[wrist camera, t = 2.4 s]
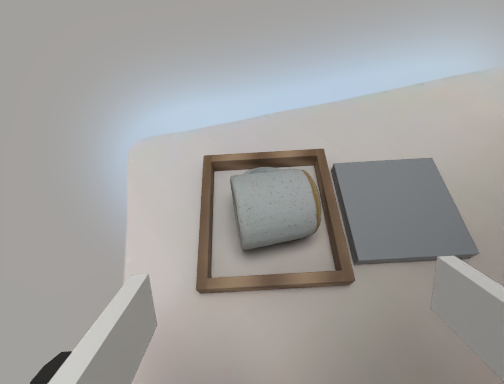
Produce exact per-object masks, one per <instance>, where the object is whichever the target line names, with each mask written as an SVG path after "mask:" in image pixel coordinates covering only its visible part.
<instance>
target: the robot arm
mask: <svg viewBox="0 0 504 384" xmlns="http://www.w3.org/2000/svg"><path fill="white" fill-rule="evenodd" d="M431 310H432V311H433V312H434V313H435V314H436V315H437V316H438V317H439V318H440V319H441V320H442V321H443V322H444V323H445V324H446V325H447V326H448V327H449V328H450V329H451V330H452V331H453V332H454V333H455V334H456V335H457V336H458V337H459V338H460V339H461V340H462V341H463V342H464V343H465V344H466V345H467V346H468V347H469V348H470V349H471V350H472V351H473V352H474V353H475V354H476V355H477V356H478V357H479V358H480V359H481V360H482V361H483V362H484V363H485V364H486V365H487V366H488V367H489V368H490V369H491V370H492V371H493V372H494V373H495V374H496V375H497V376H498V377H499V378H500V379H501V380H502V381H503V382H504V287H503V286H501V285H500V284H498V283H497V282H495V281H493V280H492V279H490V278H489V277H487V276H486V275H484V274H482V273H481V272H479V271H478V270H476V269H474V268H473V267H471V266H470V265H468V264H467V263H465V262H463V261H462V260H460V259H459V258H457V257H455V256H439V257H437V262H436V270H435V278H434V286H433V293H432V301H431ZM156 327H157V321H156V315H155V309H154V303H153V298H152V292H151V286H150V280H149V274H138V275H131V276H130V277H129V279H128V280H127V281H126V283H125V284H124V285H123V287H122V288H121V289H120V291H119V292H118V293H117V294H116V296H115V297H114V298H113V300H112V301H111V302H110V303H109V305H108V306H107V308H106V309H105V310H104V311H103V313H102V314H101V315H100V316H99V318H98V319H97V320H96V322H95V323H94V324H93V326H92V327H91V328H90V329H89V331H88V332H87V333H86V335H85V336H84V337H83V338H82V340H81V341H80V342H79V344H78V345H77V346H76V348H75V349H74V350H73V351H72V352H61V353H60V354H58V355H57V356H56V357H55V358H53V359H52V360H51V361H50V362H48V363H47V364H46V365H45V366H44V367H43V368H42V369H41V370H40V371H39V373H38V374H37V375H36V376H35V377H34V378H33V380H32V381H31V382H30V384H131V383H132V380H133V378H134V376H135V374H136V371H137V369H138V367H139V365H140V363H141V360H142V358H143V356H144V354H145V351H146V349H147V347H148V345H149V342H150V340H151V338H152V336H153V334H154V331H155V329H156Z"/></svg>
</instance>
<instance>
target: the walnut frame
mask: <svg viewBox="0 0 504 384" xmlns="http://www.w3.org/2000/svg"><path fill="white" fill-rule="evenodd" d="M308 165H314V167H315V171H316V176H317V181H318V186H319V191H320V195H321V200H322V205H323V210H324V215H325V220H326V224H327V229H328V234H329V239H330V244H331V248H332V253H333V258H334V263H335V268H336V271H324V272H306V273H289V274H271V275H254V276H236V277H219V278H211V254H212V221H213V189H214V171H222V170H240V169H255V168H260V167H273V168H274V167H291V166H308ZM354 281H355V278H354V274H353V269H352V265H351V261H350V257H349V253H348V248H347V244H346V240H345V236H344V232H343V228H342V223H341V219H340V215H339V211H338V207H337V203H336V198H335V194H334V190H333V186H332V182H331V178H330V173H329V169H328V165H327V161H326V157H325V153H324V149H310V150H292V151H275V152H258V153H241V154H224V155H207V156H204V160H203V178H202V196H201V213H200V231H199V249H198V266H197V284H196V290H197V291H198V292H199V293H216V292H234V291H252V290H269V289H287V288H304V287H322V286H340V285H350V284H351V283H353V282H354Z"/></svg>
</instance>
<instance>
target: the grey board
mask: <svg viewBox="0 0 504 384" xmlns="http://www.w3.org/2000/svg"><path fill="white" fill-rule="evenodd" d="M331 172H332V176H333V180H334V184H335V188H336V192H337V196H338V200H339V205H340V209H341V213H342V217H343V221H344V225H345V229H346V233H347V237H348V241H349V245H350V249H351V253H352V258H353V262H354V265H355V264H372V263H390V262H407V261H425V260H437V257H439V256H455V257H457V258H459V259H460V258H470V257H473V256H475V255H477V254H479V252H478V250H477V248H476V246H475V244H474V242H473V240H472V238H471V236H470V234H469V232H468V230H467V228H466V226H465V224H464V222H463V220H462V218H461V216H460V214H459V211H458V209H457V207H456V205H455V203H454V201H453V199H452V197H451V195H450V193H449V191H448V189H447V187H446V185H445V183H444V181H443V179H442V177H441V175H440V173H439V171H438V169H437V167H436V165H435V163H434V161H433V159H432V158H419V159H402V160H385V161H368V162H351V163H334V165H333V167H332V170H331Z"/></svg>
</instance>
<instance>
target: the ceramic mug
mask: <svg viewBox="0 0 504 384" xmlns="http://www.w3.org/2000/svg"><path fill="white" fill-rule="evenodd" d="M230 182H231V190H232V196H233V204H234V210H235V216H236V221H237V228H238V233H239V239H240V244H241V248H242V249H243V250H249V249H253V248H258V247H263V246H267V245H272V244H277V243H281V242H285V241H290V240H296V239H301V238H304V237H306V236H309V235H311V234H313V233H315V232H316V231H317V229H318V227H319V225H320V221H321V204H320V198H319V194H318V190H317V187H316V185H315V183H314V180H313V179H312V177H311V176H310V175H309V174H308V173H307V172H306V171H304V170H299V169H285V170H281V169H278V168H273V167H260V168H255V169H251V170H249V171H247V172H245V173H244V174H243V175H235V176H231V178H230Z"/></svg>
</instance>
